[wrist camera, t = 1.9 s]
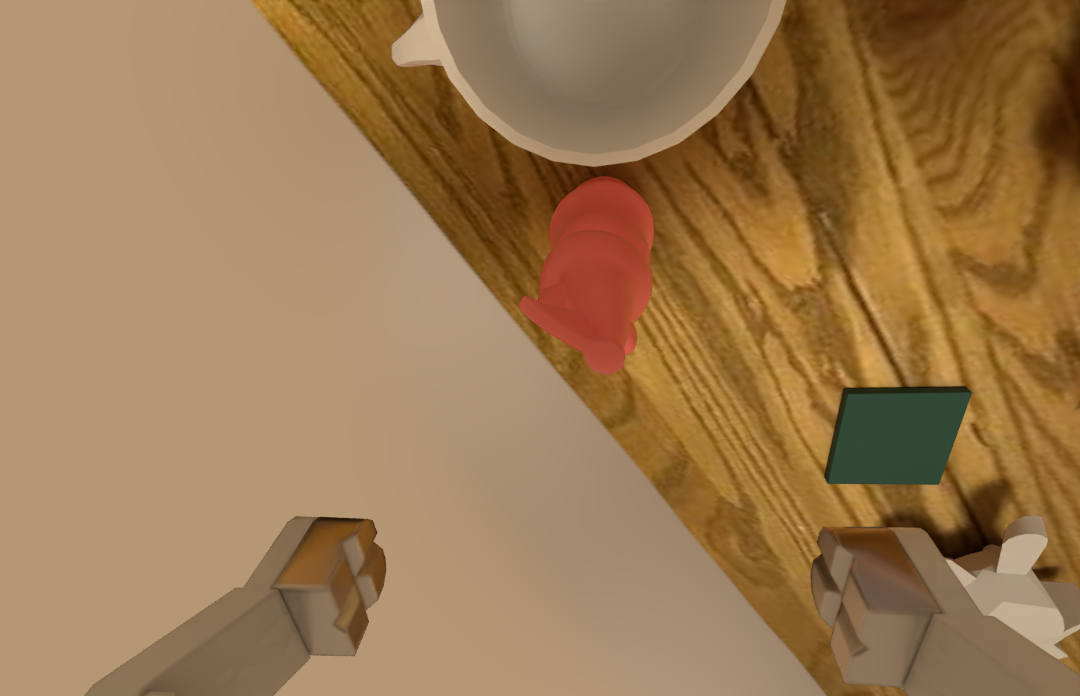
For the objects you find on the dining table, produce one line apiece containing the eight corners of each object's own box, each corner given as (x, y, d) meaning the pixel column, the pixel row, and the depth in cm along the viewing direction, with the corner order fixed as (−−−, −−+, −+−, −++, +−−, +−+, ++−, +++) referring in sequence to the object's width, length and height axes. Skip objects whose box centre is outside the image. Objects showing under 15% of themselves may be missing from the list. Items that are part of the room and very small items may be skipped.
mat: (843, 388, 32) (847, 394, 31) (966, 386, 31) (972, 392, 30) (824, 477, 35) (827, 484, 35) (934, 478, 34) (939, 484, 34)
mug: (748, 43, 24) (853, 44, 14) (520, 181, 28) (471, 261, 18) (654, -205, 20) (703, -453, 10) (408, -5, 24) (267, -38, 14)
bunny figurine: (965, 701, 38) (907, 605, 32) (926, 629, 43) (867, 530, 36) (1125, 668, 35) (1097, 552, 28) (1065, 594, 39) (1029, 477, 32)
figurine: (535, 236, 29) (479, 391, 16) (577, 147, 27) (550, 246, 14) (619, 276, 30) (628, 456, 17) (668, 192, 27) (723, 328, 14)
